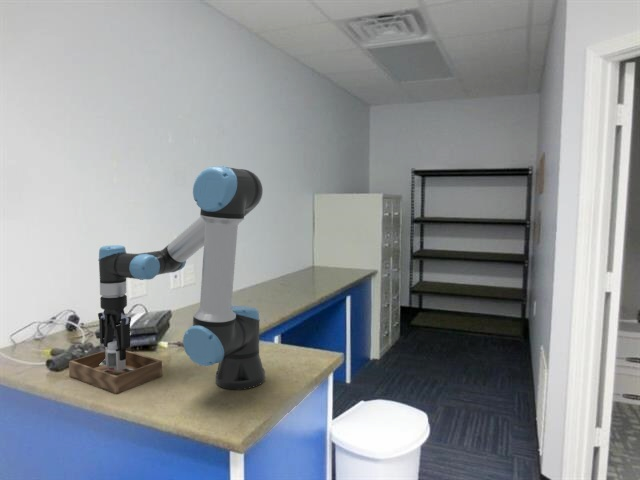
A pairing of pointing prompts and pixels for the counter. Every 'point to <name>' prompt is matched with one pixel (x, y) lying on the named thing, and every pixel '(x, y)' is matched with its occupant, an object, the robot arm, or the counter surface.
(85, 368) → the box
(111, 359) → the pill bottle
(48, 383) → the counter surface
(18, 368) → the counter surface
